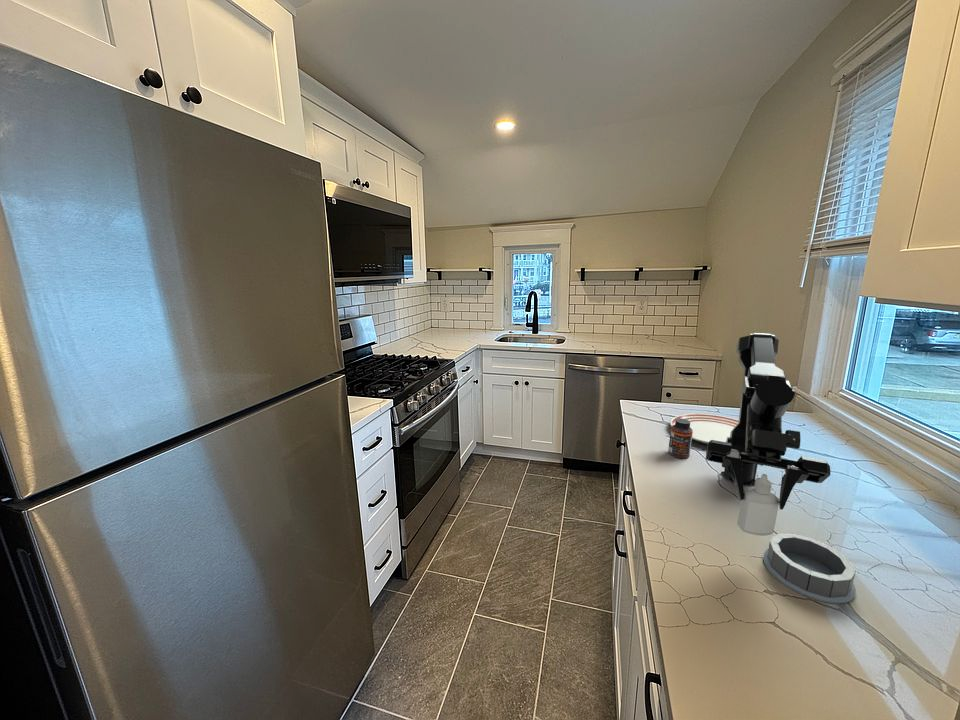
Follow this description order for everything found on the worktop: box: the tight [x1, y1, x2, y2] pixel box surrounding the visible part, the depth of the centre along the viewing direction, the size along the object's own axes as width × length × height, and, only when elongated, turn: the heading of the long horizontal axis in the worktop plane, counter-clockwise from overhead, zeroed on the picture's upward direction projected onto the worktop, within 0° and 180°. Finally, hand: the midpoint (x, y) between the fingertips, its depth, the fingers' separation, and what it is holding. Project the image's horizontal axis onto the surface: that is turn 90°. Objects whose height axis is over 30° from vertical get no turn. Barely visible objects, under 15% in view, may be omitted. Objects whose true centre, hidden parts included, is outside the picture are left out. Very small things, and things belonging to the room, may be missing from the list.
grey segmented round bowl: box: [763, 533, 857, 605], centre depth 69 cm, size 13×13×4 cm
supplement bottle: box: [667, 418, 693, 459], centre depth 114 cm, size 6×6×11 cm
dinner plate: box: [669, 413, 739, 445], centre depth 128 cm, size 28×27×3 cm
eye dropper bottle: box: [737, 473, 779, 536], centre depth 70 cm, size 4×6×12 cm
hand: (761, 504), depth 69 cm, fingers closed on eye dropper bottle, 6 cm apart
